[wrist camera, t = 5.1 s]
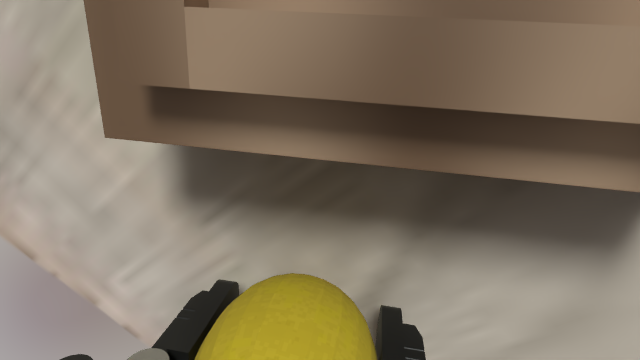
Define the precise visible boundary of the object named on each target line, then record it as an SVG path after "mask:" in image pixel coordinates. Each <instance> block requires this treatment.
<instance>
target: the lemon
mask: <svg viewBox="0 0 640 360" xmlns="http://www.w3.org/2000/svg"><path fill="white" fill-rule="evenodd" d="M195 360H377V355H376V350H375V346H374V343H373V339H372V337H371V334H370V331H369V328H368V325H367V322H366V321H365V319H364V317H363V315H362V314H361V312H360V311H359V309H358V308H357V306H356V305H355V303H354V302H353V301H352V300H351V299H350V298H349V297H348V296H347V295H346V294H345V293H344V292H343V291H342V290H340V289H339V288H338V287H336V286H334V285H333V284H331V283H329V282H327V281H325V280H324V279H320V278H317V277H314V276H311V275H305V274H294V273H291V274H284V275H277V276H273V277H271V278H268V279H266V280H263V281H261V282H258V283H256V284H255V285H253V286H251V287H250V288H249V289H247V290H246V291H245V292H243V293H242V294H241V295H240V296H238V297H237V298H236V299H235V300H233V301H232V302H231V303H230V304H229V305H228V306H227V307H226V309H225V310H224V311H223V312H222V313H221V315H220V316H219V318H218V319H217V320H216V322H215V323H214V325H213V327H212V328H211V330H210V331H209V333H208V334H207V336H206V338H205V339H204V341H203V343H202V345H201V346H200V349H199V351H198V353H197V355H196V357H195Z"/></svg>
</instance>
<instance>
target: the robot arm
mask: <svg viewBox="0 0 640 360" xmlns="http://www.w3.org/2000/svg"><path fill="white" fill-rule="evenodd" d="M238 296H239V285H238V283H237V282H232V281H226V280H217V281H216V283H215V284H214V285H213V287H212V288H211V289H210V291H201V292H200V293H198V294H197V295H195V296H194V297H192V298H191V299H190V300H189V301H188V303H187V304H186V305H185V306H184V308H183V310H181V312H180V313H179V314H178V315H177V318H175V319H174V320H173V322H172V323H171V324H170V325H169V327H168V328H167V329H166V330H165V332H164V333H163V334H162V335H161V337H160V338H159V339H158V340H157V342H156V343H155V344H154V345H153V347H152V348H149V349H145V350H142V351H139V352H137V353H135V354H133V355H132V356H131V357H129V358H128V359H127V360H195V357H196V355H197V353H198V351H199V349H200V346H201V345H202V343H203V341H204V339H205V338H206V336H207V334H208V333H209V331H210V330H211V328H212V327H213V325H214V323H215V322H216V320H217V319H218V318H219V316H220V315H221V313H222V312H223V311H224V310H225V309H226V307H227V306H228V305H229V304H230V303H231V302H232V301H233V300H235V299H236V298H237V297H238ZM375 350H376V355H377V360H426V358H425V352H424V345H423V338H422V336H421V334H420V333H419V331H418V330H417V328H416V327H415V325H409V324H403V323H402V312H401V308H395V307H389V306H383V305H381V308H380V315H379V322H378V328H377V335H376V344H375ZM60 360H93V359H92V358H91V357H89V356H88V355H83V354H78V355H71V356H68V357H65V358H63V359H60Z"/></svg>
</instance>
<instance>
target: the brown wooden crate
mask: <svg viewBox="0 0 640 360" xmlns="http://www.w3.org/2000/svg"><path fill="white" fill-rule="evenodd" d="M84 5H85V12H86V18H87V25H88V31H89V38H90V44H91V50H92V57H93V63H94V70H95V76H96V83H97V89H98V96H99V102H100V109H101V115H102V121H103V128H104V134H105V138H114V139H124V140H134V141H144V142H153V143H163V144H173V145H183V146H192V147H202V148H212V149H222V150H231V151H241V152H251V153H261V154H271V155H280V156H290V157H300V158H310V159H319V160H329V161H339V162H349V163H358V164H368V165H378V166H388V167H397V168H407V169H417V170H427V171H436V172H446V173H456V174H466V175H475V176H485V177H495V178H505V179H514V180H524V181H534V182H544V183H554V184H563V185H573V186H583V187H593V188H602V189H612V190H622V191H632V192H640V0H84Z"/></svg>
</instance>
